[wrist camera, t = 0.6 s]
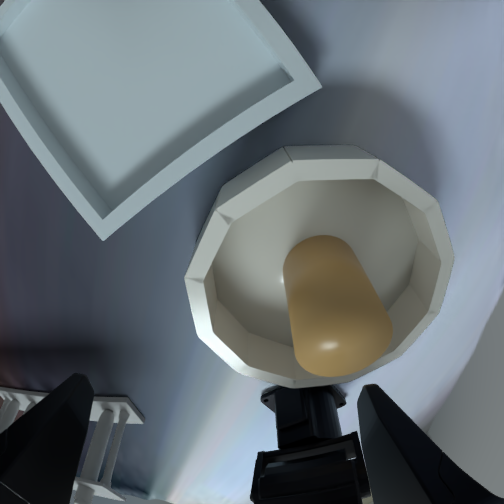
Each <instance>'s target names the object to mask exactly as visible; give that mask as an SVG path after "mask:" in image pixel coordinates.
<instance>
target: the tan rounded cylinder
mask: <svg viewBox="0 0 504 504" xmlns="http://www.w3.org/2000/svg"><path fill="white" fill-rule="evenodd" d="M283 279H284V286H285V292H286V298H287V305H288V312H289V318H290V325H291V332H292V338H293V345H294V352H295V357H296V359H297V361H298V363H299V364H300V366H301V367H303V368H304V369H305V370H306V371H308V372H310V373H312V374H315V375H319V376H325V377H338V376H345V375H349V374H352V373H355V372H358V371H360V370H362V369H364V368H366V367H368V366H369V365H371V364H372V363H374V362H375V361H376V360H377V359H378V358H379V357H381V355H382V354H383V353H384V352H385V351H386V349H387V348H388V346H389V344H390V342H391V339H392V335H393V326H392V322H391V319H390V318H389V316H388V314H387V312H386V310H385V308H384V306H383V304H382V302H381V300H380V298H379V296H378V295H377V293H376V291H375V289H374V287H373V285H372V283H371V282H370V280H369V278H368V276H367V274H366V273H365V271H364V269H363V267H362V265H361V264H360V262H359V260H358V258H357V257H356V255H355V253H354V251H353V250H352V248H351V247H350V246H349V245H348V244H347V243H346V242H345V241H343V240H342V239H340V238H337V237H334V236H330V235H318V236H313V237H310V238H307V239H305V240H303V241H301V242H300V243H298V244H297V245H296V246H295V247H293V248H292V250H291V251H290V252H289V253H288V255H287V257H286V259H285V261H284V264H283Z"/></svg>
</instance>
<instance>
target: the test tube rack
mask: <svg viewBox="0 0 504 504" xmlns="http://www.w3.org/2000/svg"><path fill="white" fill-rule="evenodd" d="M48 394H49V393H42V392H33V391H25V390H18V389H11V388H5V387H0V396H1V397H2V398H3V399H4V402H3V406H2V407H1V409H0V433H1V432H3V431H4V430H5V429H8V427H9V426H10V425H11V424H12V423H13V421H14V419H15V417H16V414H17V412H18V410H23V411H24V413H23V414H25V413H26V412H27V411H28V410H30V409H31V408H32V407H33V406H34V405H36V404H37V403H38V402H39V401H41V400H42V399H43V398H44V397H46V396H47V395H48ZM90 421H98V423H97V425H96V428H95V431H94V434H93V437H92V440H91V444H90V447H89V450H88V453H87V456H86V459H85V463H84V466H83V469H82V473H81V476H80V478H78V477H75V481H74V485H73V490H76V495H75V497H74V499H75V501H74V503H75V504H92V503H91V502H92V498H93V495H97V496H101V497H106V498H111V499H116V500H121V501H126V498H125V497H124V496H122V495H120V494H119V493H117V492H116V491H114V490H113V489H111V482H110V481H111V477H112V473H113V469H114V465H115V461H116V457H117V453H118V449H119V446H120V442H121V438H122V435H123V431H124V427H125V424H126V423H132V424H144V422H145V418H144V417H143V416H142V415H141V413H140V412H139V411H138V410H137V408H136V407H135V406H134V405H133V403H132V402H131V401H130V399H129V398H128V397H94V399H93V404H92V410H91V415H90ZM113 422H114V423H118V425H117V428H116V432H115V435H114V439H113V442H112V446H111V449H110V453H109V456H108V460H107V464H106V467H105V471H104V475H103V479H101V482H97V479H98V475H99V472H100V468H101V464H102V461H103V457H104V454H105V450H106V447H107V443H108V440H109V436H110V433H111V430H112V426H113Z"/></svg>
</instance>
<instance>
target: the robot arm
mask: <svg viewBox="0 0 504 504" xmlns="http://www.w3.org/2000/svg"><path fill="white" fill-rule="evenodd" d="M93 399H94V389H93V387H92V385H91V383H90V381H89V379H88V377H87V376H86V375H85V374H80V373H75V374H73V375H72V376H70V377H69V378H68V379H67V380H65V381H64V382H63V383H62V384H60V385H59V386H58V387H57V388H55V389H54V390H53V391H52V392H50V393H49V394H48V395H47V396H46V397H44V398H43V399H42V400H41V401H39V402H38V403H37V404H36V405H34V406H33V407H32V408H31V409H30V410H28V411H27V412H26V413H25V414H23V415H22V416H21V417H20V418H19V419H17V420H16V421H15V422H14V423H12V424H11V425H10V426H9V427H8V429H5V430H4V431H3V432H1V433H0V504H69V503H70V498H71V494H72V490H73V485H74V481H75V477H76V473H77V469H78V465H79V461H80V457H81V454H82V450H83V446H84V443H85V439H86V436H87V432H88V427H89V421H90V415H91V410H92V404H93ZM261 402H262V403H263V404H264V405H266V406H267V407H268V408H269V409H271V410H272V411H273V412H274V413H275V415H276V428H277V440H278V448H279V450H274V451H268V452H265V451H261V452H258V455H257V460H256V463H255V469H254V476H253V482H252V489H251V494H250V499H251V501H252V502H254V504H363V503H362V499H363V498H367V497H370V496H371V492H372V497H373V502H374V504H504V498H500V497H498V496H496V495H494V494H492V493H491V492H489V491H488V490H487V489H486V488H484V487H483V486H482V485H481V484H479V483H478V482H476V481H475V480H474V479H473V478H472V477H470V476H469V475H468V474H467V473H465V472H464V471H463V470H462V469H461V468H459V467H458V466H457V465H456V464H455V463H454V462H453V461H452V460H451V459H450V458H449V457H448V456H447V455H446V454H445V453H444V452H442V450H441V449H440V448H439V447H438V446H437V445H436V444H435V443H434V442H433V441H432V440H431V439H430V438H429V437H428V436H427V435H426V434H425V433H424V432H423V431H422V430H421V429H420V428H419V427H418V426H417V425H416V424H415V423H414V422H413V421H412V420H411V418H410V417H409V416H408V415H407V414H406V413H405V412H404V411H403V410H402V409H401V408H400V407H399V406H398V405H397V404H396V403H395V402H394V401H393V400H392V399H391V398H390V397H389V396H388V395H387V394H386V393H385V392H384V391H383V390H382V389H381V388H380V387H379V386H378V385H377V384H368V385H364V386H363V388H362V391H361V393H360V396H359V398H358V401H357V408H358V417H359V426H360V435H361V444H362V450H363V454H362V450H361V446H360V441H359V437H358V433H357V431H355V432H351V434H347V435H344V436H342V432H341V427H340V423H339V418H338V413H337V409H338V408H340V407H342V406H344V405H346V400H345V398H344V397H343V396H342V395H341V394H340V393H339V392H338V390H337V389H336V388H335V387H334V386H333V385H323V386H314V387H304V388H288V387H282V388H279V389H277V390H274V391H272V392H269V393H267V394H264V395H262V396H261ZM363 455H364V458H363ZM355 457H356V458H355ZM351 458H355V459H352V460H351ZM348 459H350V460H348ZM364 459H365V462H364ZM365 464H366V467H365ZM366 468H367V471H366ZM367 473H368V476H367ZM368 478H369V481H368ZM369 482H370V486H369ZM370 487H371V492H370Z"/></svg>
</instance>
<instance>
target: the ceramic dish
mask: <svg viewBox="0 0 504 504" xmlns="http://www.w3.org/2000/svg"><path fill="white" fill-rule="evenodd" d="M318 235H330V236H334V237H337V238H340V239H342V240H343V241H345V242H346V243H347V244H348V245H349V246H350V247H351V248H352V250H353V251H354V253H355V255H356V257H357V258H358V260H359V262H360V264H361V265H362V267H363V269H364V271H365V273H366V274H367V276H368V278H369V280H370V282H371V283H372V285H373V287H374V289H375V291H376V293H377V295H378V296H379V298H380V300H381V302H382V304H383V306H384V308H385V310H386V312H387V314H388V316H389V318H390V319H391V322H392V326H393V335H392V339H391V342H390V344H389V346H388V348H387V349H386V351H385V352H384V353H383V354H382V355H381V357H379V358H378V359H377V360H376V361H375V362H374V363H372V364H371V365H369V366H368V367H366V368H364V369H362V370H360V371H358V372H355V373H352V374H349V375H345V376H338V377H325V376H319V375H315V374H312V373H310V372H308V371H306V370H305V369H304V368H303V367H301V366H300V364H299V363H298V361H297V359H296V357H295V352H294V345H293V338H292V332H291V325H290V318H289V312H288V305H287V298H286V292H285V286H284V279H283V264H284V261H285V259H286V257H287V255H288V253H289V252H290V251H291V250H292V248H293V247H295V246H296V245H297V244H298V243H300V242H301V241H303V240H305V239H307V238H310V237H313V236H318ZM454 259H455V257H454V253H453V249H452V245H451V242H450V238H449V235H448V231H447V228H446V225H445V221H444V218H443V215H442V212H441V209H440V206H439V203H438V201H437V200H436V199H435V198H434V197H433V196H431V195H430V194H429V193H427V192H426V191H425V190H423V189H422V188H420V187H419V186H418V185H416V184H415V183H414V182H412V181H411V180H409V179H408V178H407V177H405V176H404V175H402V174H401V173H399V172H398V171H396V170H395V169H394V168H392V167H391V166H389V165H388V164H386V163H385V162H383V161H382V160H380V159H378V158H377V157H375V156H373V155H371V154H370V153H368V152H366V151H364V150H363V149H361V148H359V147H357V146H355V145H308V146H284V148H283V147H281V148H280V149H278V150H277V151H275V152H273V153H272V154H270V155H269V156H267V157H265V158H264V159H262V160H261V161H259V162H258V163H256V164H255V165H253V166H251V167H250V168H248V169H247V170H245V171H244V172H242V173H241V174H239V175H238V176H236V177H235V178H233V179H232V180H230V181H229V182H227V183H226V184H224V185H223V186H222V187H221V189H220V191H219V193H218V196H217V198H216V200H215V202H214V204H213V206H212V208H211V211H210V213H209V215H208V217H207V219H206V222H205V224H204V226H203V228H202V230H201V233H200V235H199V237H198V239H197V242H196V244H195V247H194V250H193V253H192V256H191V259H190V262H189V265H188V268H187V271H186V274H185V278H184V279H185V283H186V288H187V292H188V297H189V301H190V306H191V310H192V315H193V319H194V323H195V327H196V331H197V335H198V337H199V338H200V339H201V340H202V341H203V342H204V343H206V344H207V345H208V346H209V347H210V348H211V349H212V350H213V351H214V352H215V353H216V354H217V355H218V356H219V357H221V358H222V359H223V360H224V361H225V362H226V363H227V364H228V365H229V366H230V367H232V368H233V369H234V370H235V371H236V372H237V373H239V374H242V375H245V376H248V377H252V378H255V379H259V380H262V381H266V382H269V383H273V384H277V385H280V386H284V387H288V388H304V387H314V386H323V385H332V384H340V383H347V382H351V381H353V380H355V379H357V378H359V377H361V376H363V375H365V374H367V373H369V372H371V371H373V370H375V369H377V368H379V367H381V366H383V365H385V364H387V363H389V362H391V361H393V360H395V359H397V358H398V357H400V356H401V355H402V354H403V353H404V352H405V351H406V350H407V349H408V348H409V347H410V346H411V345H412V344H413V343H414V341H415V340H416V339H417V338H418V337H419V336H420V335H421V334H422V333H423V331H424V330H425V329H426V328H427V327H428V326H429V325H430V323H431V322H432V321H433V320H434V319H435V317H436V316H437V315H438V314H439V312H440V309H441V306H442V302H443V299H444V296H445V292H446V289H447V286H448V282H449V278H450V275H451V271H452V267H453V263H454Z"/></svg>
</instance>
